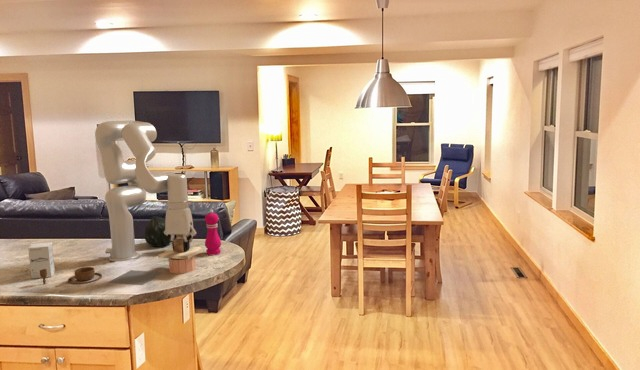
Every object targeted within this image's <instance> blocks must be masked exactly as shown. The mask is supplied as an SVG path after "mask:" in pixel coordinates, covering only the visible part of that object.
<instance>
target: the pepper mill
mask: <svg viewBox="0 0 640 370" xmlns="http://www.w3.org/2000/svg"><path fill="white" fill-rule="evenodd" d="M219 220H220V219H219V215H218V214H217V213H214V210H213V209H209V213H207V214H206V215H205V217H204V221H205V222H206V224H205V225H206V227H205V228H207V235H206V238H205V241H204V246H205V248H206V251H205V252H206V253H205V254H206V255H208V256H217V255H219V254H221V246H222V240H221V238H220V235H219V233H218V227H219V226H218V225H219V224H218V221H219Z"/></svg>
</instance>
